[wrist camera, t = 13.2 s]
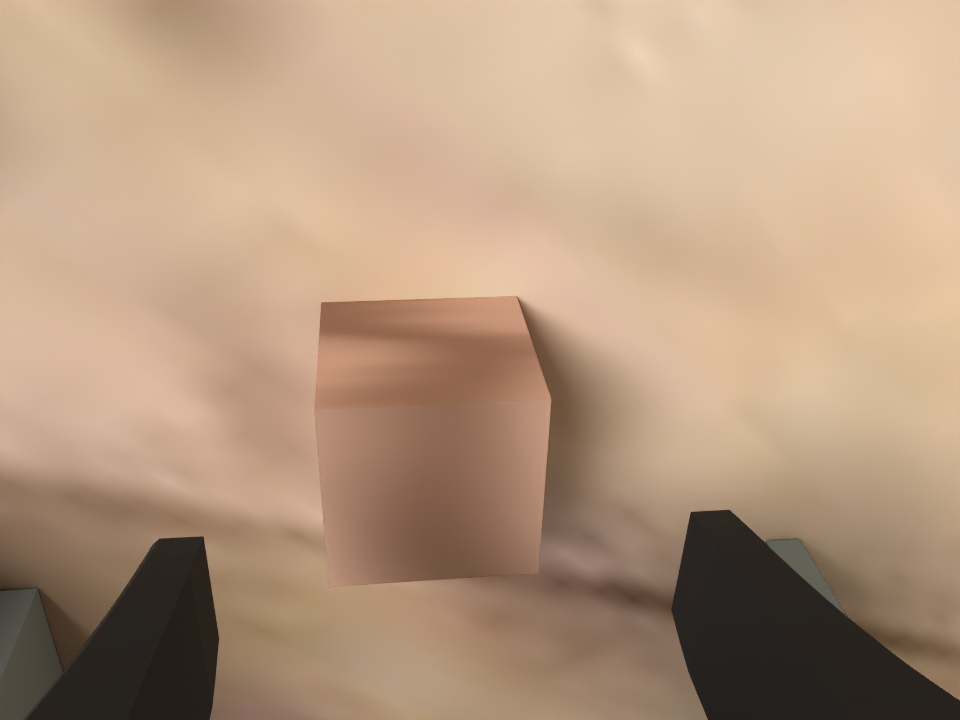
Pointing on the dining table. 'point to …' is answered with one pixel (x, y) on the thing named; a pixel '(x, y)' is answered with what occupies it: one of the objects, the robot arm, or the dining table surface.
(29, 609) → the open-side crate
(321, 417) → the terracotta block
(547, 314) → the dining table surface
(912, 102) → the dining table surface
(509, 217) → the dining table surface
